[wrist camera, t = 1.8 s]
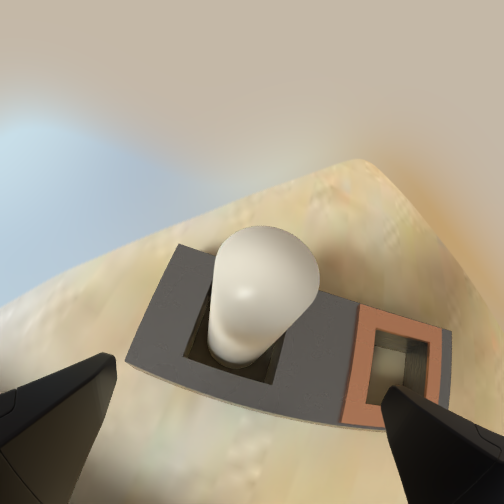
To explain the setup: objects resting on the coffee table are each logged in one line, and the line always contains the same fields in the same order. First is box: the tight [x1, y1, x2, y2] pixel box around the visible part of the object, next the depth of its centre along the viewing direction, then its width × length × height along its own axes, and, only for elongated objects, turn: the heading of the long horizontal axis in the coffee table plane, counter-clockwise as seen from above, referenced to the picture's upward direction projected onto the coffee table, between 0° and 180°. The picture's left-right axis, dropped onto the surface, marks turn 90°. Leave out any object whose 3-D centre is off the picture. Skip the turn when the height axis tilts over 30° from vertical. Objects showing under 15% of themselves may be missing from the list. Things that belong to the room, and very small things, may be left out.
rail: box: [125, 244, 452, 432], centre depth 18 cm, size 9×24×3 cm, turn 74°
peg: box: [207, 226, 320, 369], centre depth 15 cm, size 4×4×11 cm
